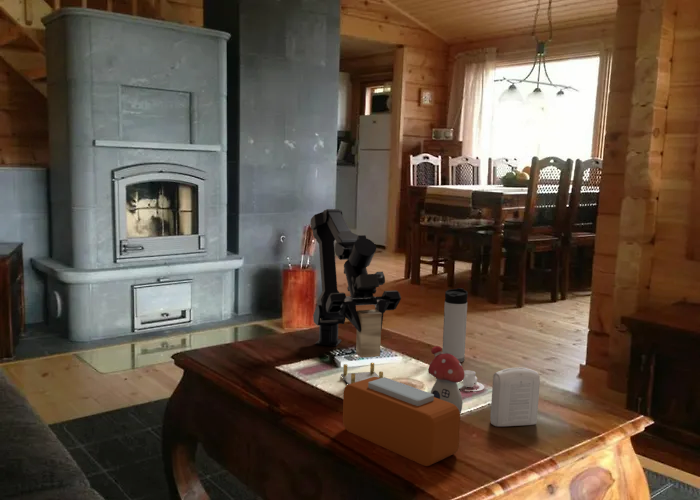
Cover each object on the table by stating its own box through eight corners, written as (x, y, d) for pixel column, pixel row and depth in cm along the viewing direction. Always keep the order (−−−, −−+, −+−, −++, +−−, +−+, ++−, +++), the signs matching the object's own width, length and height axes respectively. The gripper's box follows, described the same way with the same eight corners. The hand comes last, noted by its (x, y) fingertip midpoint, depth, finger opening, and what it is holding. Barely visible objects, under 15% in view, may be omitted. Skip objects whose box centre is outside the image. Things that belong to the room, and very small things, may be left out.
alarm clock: (459, 456, 127) (462, 400, 126) (431, 470, 121) (434, 410, 120) (369, 419, 144) (371, 368, 143) (341, 429, 138) (343, 376, 137)
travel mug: (468, 358, 189) (471, 289, 186) (459, 364, 184) (462, 293, 181) (448, 354, 192) (451, 286, 190) (438, 360, 187) (441, 290, 184)
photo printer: (530, 417, 147) (533, 364, 145) (539, 425, 143) (543, 370, 141) (487, 421, 144) (490, 366, 143) (495, 429, 140) (499, 372, 139)
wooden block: (355, 352, 168) (356, 310, 167) (374, 351, 170) (376, 309, 168) (360, 357, 164) (362, 314, 163) (380, 356, 166) (382, 313, 164)
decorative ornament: (421, 408, 150) (424, 344, 148) (447, 405, 153) (450, 342, 151) (441, 424, 142) (444, 356, 140) (468, 421, 144) (471, 354, 142)
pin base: (340, 376, 171) (341, 364, 170) (374, 374, 173) (374, 361, 173) (350, 388, 162) (350, 375, 162) (385, 386, 165) (385, 373, 164)
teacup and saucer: (466, 379, 172) (467, 364, 172) (492, 387, 167) (493, 371, 166) (445, 387, 166) (446, 371, 166) (471, 395, 161) (472, 379, 160)
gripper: (329, 261, 165) (341, 315, 156) (399, 259, 170) (415, 311, 162) (320, 286, 173) (331, 338, 164) (387, 283, 179) (401, 334, 170)
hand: (370, 330), depth 165 cm, fingers closed on wooden block, 5 cm apart
